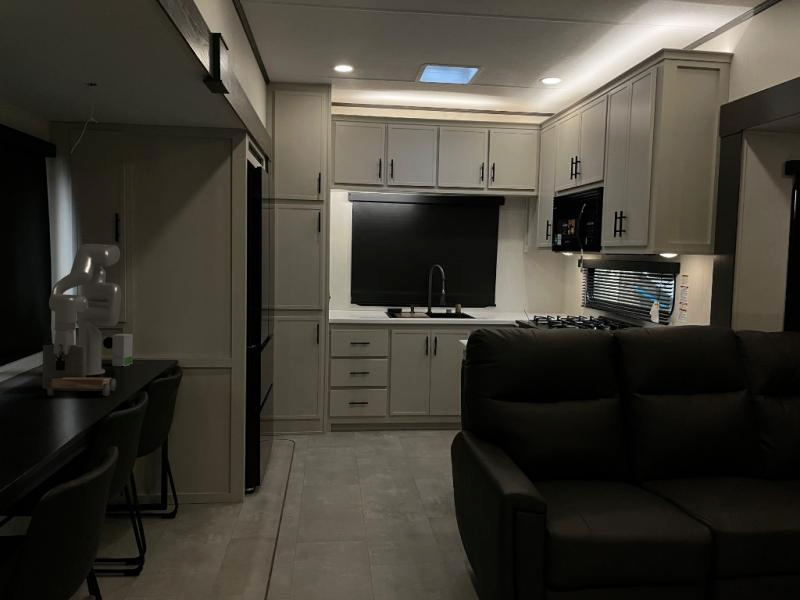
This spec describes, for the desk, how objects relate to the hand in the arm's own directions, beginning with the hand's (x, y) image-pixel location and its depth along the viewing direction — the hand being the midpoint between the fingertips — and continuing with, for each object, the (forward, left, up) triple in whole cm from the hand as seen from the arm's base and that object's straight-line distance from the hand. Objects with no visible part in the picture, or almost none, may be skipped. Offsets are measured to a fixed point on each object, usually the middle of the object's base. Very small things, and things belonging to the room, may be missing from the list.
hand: (64, 368), depth 245 cm
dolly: (+9, +10, -8) cm, 16 cm away
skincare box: (-53, +10, -8) cm, 54 cm away
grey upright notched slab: (0, 0, -8) cm, 9 cm away
